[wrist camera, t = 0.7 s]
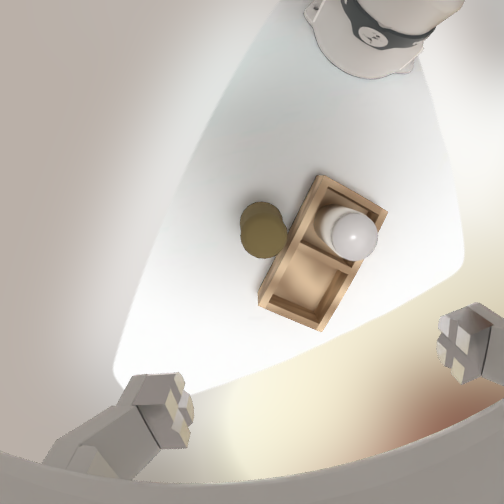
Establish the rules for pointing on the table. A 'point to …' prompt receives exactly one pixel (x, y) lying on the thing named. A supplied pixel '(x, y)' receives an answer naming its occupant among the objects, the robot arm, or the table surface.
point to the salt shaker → (346, 231)
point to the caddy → (314, 260)
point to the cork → (262, 230)
